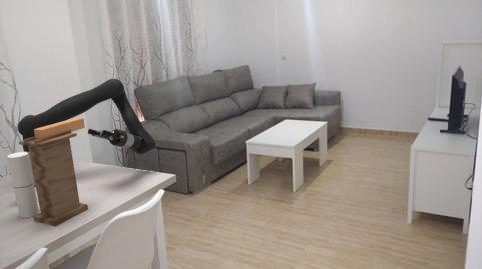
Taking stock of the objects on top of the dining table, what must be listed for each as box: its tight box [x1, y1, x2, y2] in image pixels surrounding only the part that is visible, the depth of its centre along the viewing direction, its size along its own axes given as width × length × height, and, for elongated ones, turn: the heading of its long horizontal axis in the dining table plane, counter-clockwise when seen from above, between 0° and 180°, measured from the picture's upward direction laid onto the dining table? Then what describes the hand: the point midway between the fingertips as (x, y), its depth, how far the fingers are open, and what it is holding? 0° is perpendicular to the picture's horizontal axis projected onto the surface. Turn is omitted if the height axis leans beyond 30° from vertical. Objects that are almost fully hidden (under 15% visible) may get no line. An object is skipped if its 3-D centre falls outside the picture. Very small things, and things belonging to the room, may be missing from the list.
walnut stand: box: [18, 130, 89, 227], centre depth 158 cm, size 12×16×33 cm
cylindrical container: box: [7, 151, 40, 219], centre depth 162 cm, size 7×7×25 cm
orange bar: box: [34, 117, 86, 140], centre depth 159 cm, size 4×20×4 cm, turn 154°
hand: (95, 131), depth 175 cm, fingers open, 8 cm apart
